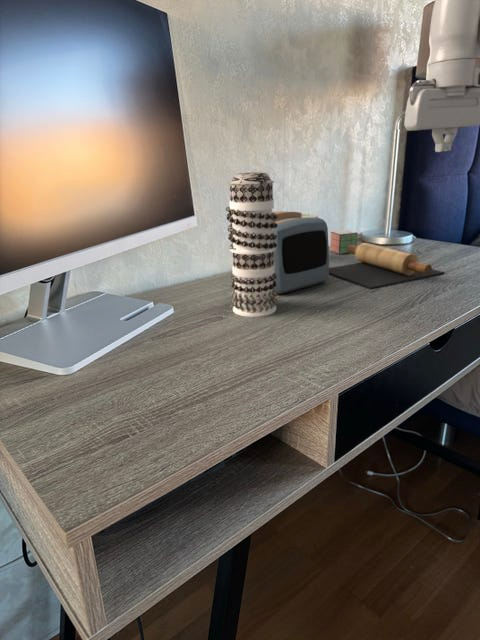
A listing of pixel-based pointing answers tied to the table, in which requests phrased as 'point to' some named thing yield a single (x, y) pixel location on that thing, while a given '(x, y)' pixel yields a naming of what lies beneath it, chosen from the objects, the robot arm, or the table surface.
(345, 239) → the puzzle toy
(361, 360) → the table surface
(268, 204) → the white patterned cylinder
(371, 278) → the pastry mat
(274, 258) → the alarm clock
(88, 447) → the table surface
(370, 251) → the rolling pin
